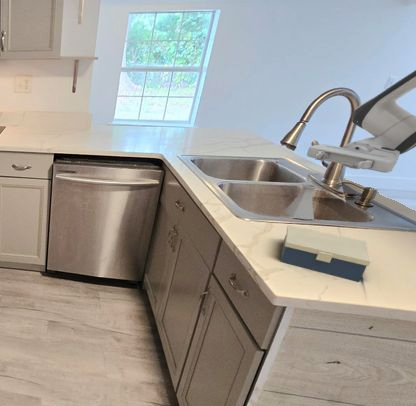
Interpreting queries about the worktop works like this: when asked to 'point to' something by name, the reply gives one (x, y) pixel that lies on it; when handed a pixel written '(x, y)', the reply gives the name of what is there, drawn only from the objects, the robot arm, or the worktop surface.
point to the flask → (302, 204)
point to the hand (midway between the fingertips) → (336, 161)
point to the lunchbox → (325, 253)
